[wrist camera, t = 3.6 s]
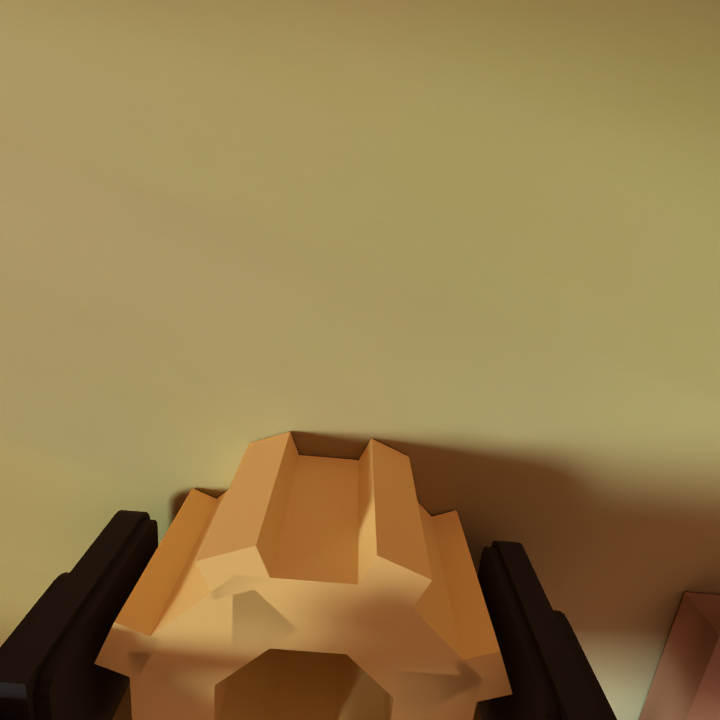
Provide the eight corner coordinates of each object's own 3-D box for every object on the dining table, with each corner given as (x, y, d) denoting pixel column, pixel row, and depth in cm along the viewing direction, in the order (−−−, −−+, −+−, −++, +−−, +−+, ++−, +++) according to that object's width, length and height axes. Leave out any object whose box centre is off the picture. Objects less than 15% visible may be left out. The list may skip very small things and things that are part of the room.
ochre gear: (175, 421, 10) (82, 532, 7) (483, 448, 11) (544, 569, 7) (179, 660, 12) (108, 840, 9) (439, 680, 12) (470, 862, 9)
